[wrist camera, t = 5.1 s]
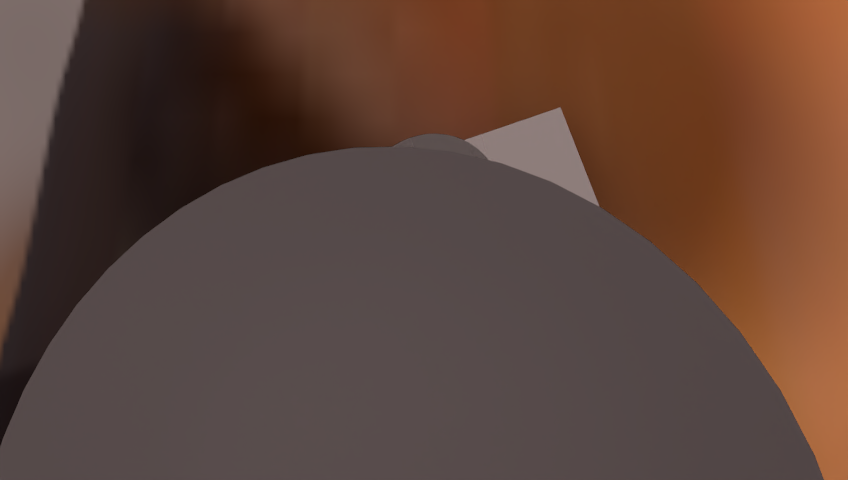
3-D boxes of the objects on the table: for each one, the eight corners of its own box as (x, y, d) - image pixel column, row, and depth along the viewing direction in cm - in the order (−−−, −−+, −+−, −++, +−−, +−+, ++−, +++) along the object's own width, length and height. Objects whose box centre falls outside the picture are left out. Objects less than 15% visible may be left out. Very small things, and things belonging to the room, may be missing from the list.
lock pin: (594, 449, 14) (1136, 1165, 2) (435, 490, 15) (-16, 1254, 2) (539, 289, 15) (627, 39, 3) (394, 332, 16) (-45, 276, 4)
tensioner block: (696, 476, 14) (746, 512, 11) (376, 555, 16) (340, 608, 12) (558, 120, 18) (567, 70, 14) (299, 208, 19) (254, 179, 16)
